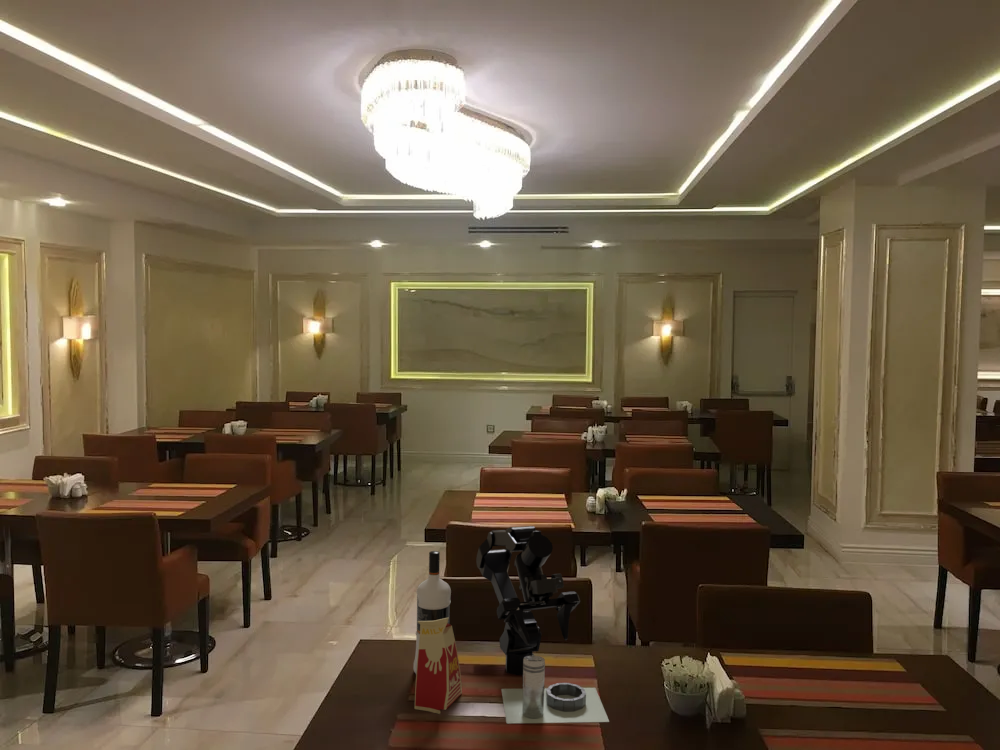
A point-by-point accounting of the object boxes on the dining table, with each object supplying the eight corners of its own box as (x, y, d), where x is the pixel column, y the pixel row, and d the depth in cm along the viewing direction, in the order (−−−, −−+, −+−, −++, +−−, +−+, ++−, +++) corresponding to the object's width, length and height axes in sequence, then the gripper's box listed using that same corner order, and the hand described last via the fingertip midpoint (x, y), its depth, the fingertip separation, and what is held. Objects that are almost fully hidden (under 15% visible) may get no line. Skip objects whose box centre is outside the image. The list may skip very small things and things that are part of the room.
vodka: (448, 681, 192) (450, 558, 190) (410, 679, 193) (411, 556, 191) (453, 665, 201) (455, 547, 199) (417, 663, 202) (418, 545, 200)
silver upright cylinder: (523, 719, 172) (524, 664, 171) (520, 708, 177) (522, 655, 176) (544, 718, 173) (546, 664, 172) (542, 708, 177) (543, 655, 176)
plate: (506, 728, 170) (506, 723, 170) (501, 693, 186) (501, 688, 186) (609, 727, 172) (609, 721, 172) (595, 692, 188) (595, 687, 188)
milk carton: (462, 697, 184) (463, 612, 183) (446, 716, 175) (448, 626, 174) (425, 690, 187) (427, 606, 186) (408, 708, 178) (409, 620, 177)
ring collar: (549, 711, 176) (549, 700, 175) (544, 693, 184) (544, 683, 184) (588, 711, 176) (588, 700, 176) (581, 693, 185) (581, 682, 185)
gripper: (503, 565, 179) (519, 633, 170) (579, 558, 186) (598, 623, 177) (490, 585, 187) (504, 652, 179) (563, 578, 194) (580, 641, 185)
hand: (547, 641), depth 180 cm, fingers open, 9 cm apart
